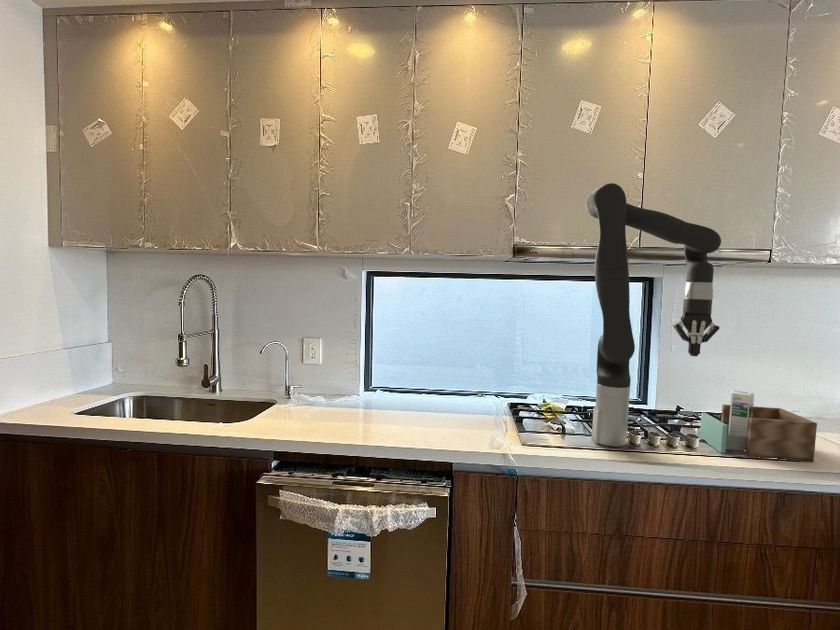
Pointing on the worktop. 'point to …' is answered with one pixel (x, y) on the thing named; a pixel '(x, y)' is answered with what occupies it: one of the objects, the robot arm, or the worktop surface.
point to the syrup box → (740, 412)
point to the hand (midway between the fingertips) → (693, 355)
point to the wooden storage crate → (778, 434)
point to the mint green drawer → (720, 435)
